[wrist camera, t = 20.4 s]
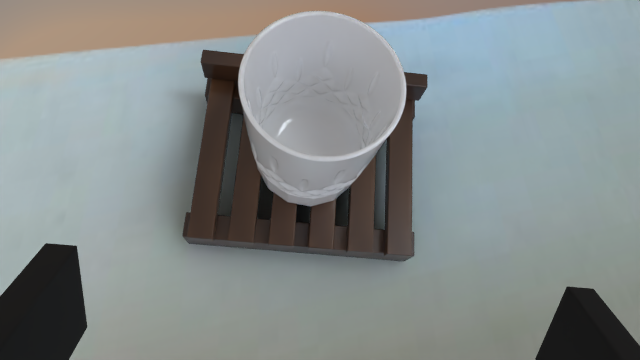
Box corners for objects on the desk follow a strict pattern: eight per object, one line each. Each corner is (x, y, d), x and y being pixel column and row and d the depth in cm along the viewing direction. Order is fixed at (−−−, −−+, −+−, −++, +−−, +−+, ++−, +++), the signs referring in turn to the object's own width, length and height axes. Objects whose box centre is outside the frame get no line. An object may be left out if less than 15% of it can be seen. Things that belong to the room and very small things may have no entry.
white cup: (246, 104, 33) (237, 9, 23) (360, 103, 34) (396, 10, 24) (248, 218, 30) (239, 163, 21) (372, 213, 31) (416, 158, 22)
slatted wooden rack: (406, 110, 38) (427, 74, 32) (404, 264, 34) (428, 251, 29) (212, 89, 37) (202, 49, 31) (187, 246, 33) (172, 229, 28)
